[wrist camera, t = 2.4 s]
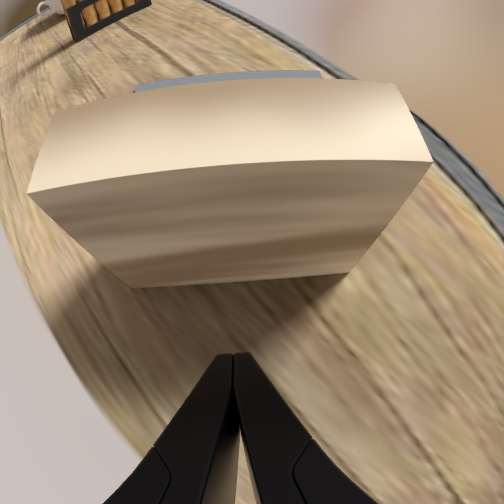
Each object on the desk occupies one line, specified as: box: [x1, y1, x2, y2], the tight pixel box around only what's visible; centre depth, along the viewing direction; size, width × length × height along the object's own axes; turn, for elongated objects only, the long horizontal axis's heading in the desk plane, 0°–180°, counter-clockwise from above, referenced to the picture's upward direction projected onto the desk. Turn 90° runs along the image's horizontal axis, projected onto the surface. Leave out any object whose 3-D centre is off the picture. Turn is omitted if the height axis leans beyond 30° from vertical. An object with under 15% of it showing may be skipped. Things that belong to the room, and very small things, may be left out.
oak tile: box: [26, 78, 433, 288], centre depth 13 cm, size 4×12×10 cm, turn 94°
